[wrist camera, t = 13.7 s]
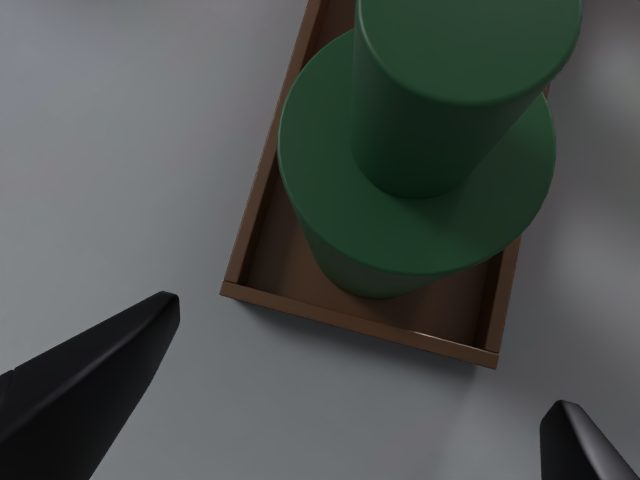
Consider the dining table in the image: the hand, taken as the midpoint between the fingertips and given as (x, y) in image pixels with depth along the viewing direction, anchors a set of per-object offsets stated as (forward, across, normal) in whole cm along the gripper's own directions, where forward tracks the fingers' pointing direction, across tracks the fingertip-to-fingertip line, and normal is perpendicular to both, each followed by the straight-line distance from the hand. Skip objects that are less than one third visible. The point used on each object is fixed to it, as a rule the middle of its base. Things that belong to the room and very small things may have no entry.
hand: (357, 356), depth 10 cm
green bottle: (+9, 0, +2) cm, 10 cm away
